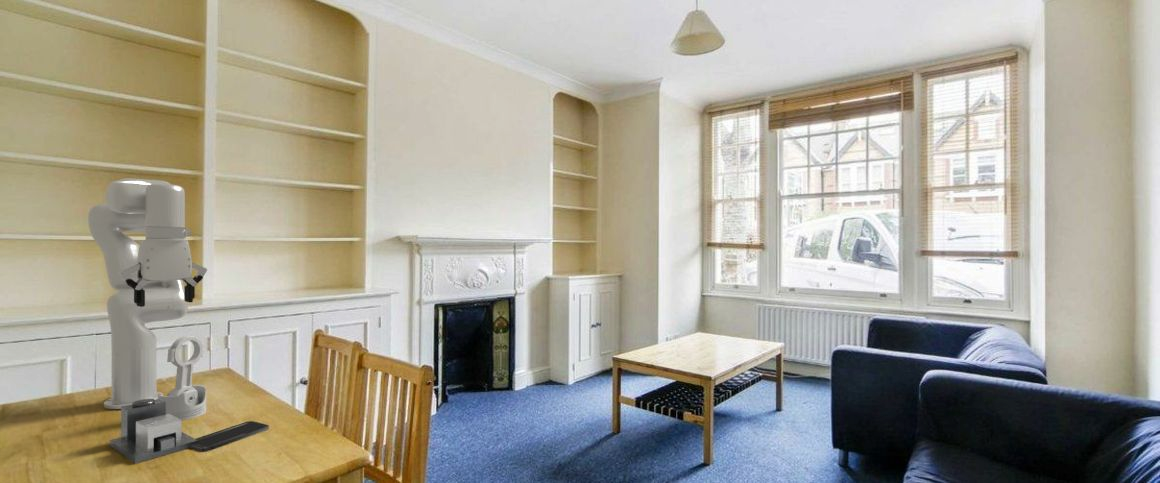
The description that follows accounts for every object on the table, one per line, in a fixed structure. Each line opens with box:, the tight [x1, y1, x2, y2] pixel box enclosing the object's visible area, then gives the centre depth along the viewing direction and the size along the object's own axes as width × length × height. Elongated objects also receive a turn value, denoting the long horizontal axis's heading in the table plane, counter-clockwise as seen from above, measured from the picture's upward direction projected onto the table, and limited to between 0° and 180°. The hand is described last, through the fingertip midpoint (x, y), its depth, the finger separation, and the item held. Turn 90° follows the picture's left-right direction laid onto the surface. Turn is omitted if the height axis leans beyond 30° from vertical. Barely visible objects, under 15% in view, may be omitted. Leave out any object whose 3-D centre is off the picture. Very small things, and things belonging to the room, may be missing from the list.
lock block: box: [136, 414, 183, 452], centre depth 113 cm, size 6×7×5 cm
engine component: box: [158, 335, 207, 421], centre depth 134 cm, size 11×20×10 cm
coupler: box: [108, 399, 198, 465], centre depth 115 cm, size 16×11×9 cm
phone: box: [190, 420, 270, 452], centre depth 120 cm, size 8×1×15 cm
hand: (165, 303), depth 126 cm, fingers open, 9 cm apart
